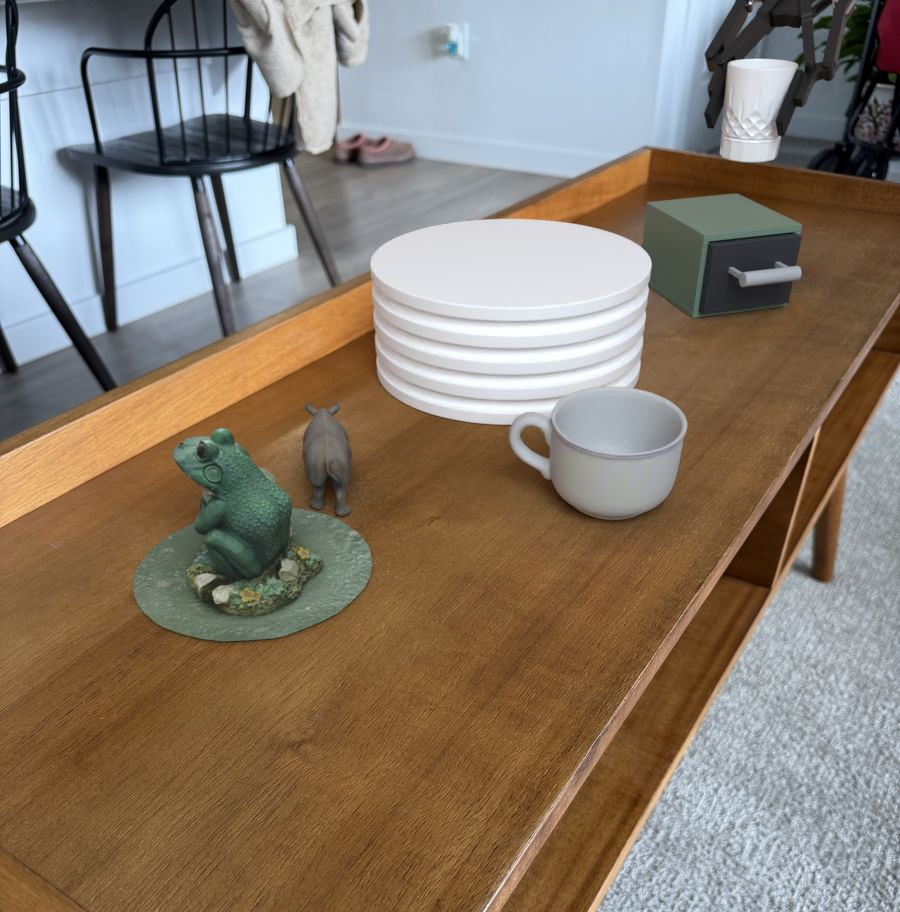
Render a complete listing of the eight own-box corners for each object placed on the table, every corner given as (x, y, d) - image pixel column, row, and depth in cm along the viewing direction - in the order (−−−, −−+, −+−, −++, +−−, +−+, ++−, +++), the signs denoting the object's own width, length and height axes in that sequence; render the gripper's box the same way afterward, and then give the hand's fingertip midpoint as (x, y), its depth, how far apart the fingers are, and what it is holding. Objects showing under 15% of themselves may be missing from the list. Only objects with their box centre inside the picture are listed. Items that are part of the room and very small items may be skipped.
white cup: (788, 164, 114) (806, 68, 108) (721, 164, 114) (735, 69, 108) (772, 149, 120) (788, 58, 114) (709, 149, 121) (721, 58, 115)
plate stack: (434, 307, 118) (432, 209, 111) (662, 335, 110) (675, 231, 103) (331, 400, 97) (321, 287, 90) (604, 444, 89) (615, 323, 82)
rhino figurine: (347, 440, 90) (342, 380, 87) (358, 516, 79) (353, 451, 76) (303, 443, 90) (296, 383, 86) (308, 521, 79) (301, 456, 75)
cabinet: (786, 306, 117) (802, 224, 111) (692, 318, 114) (704, 235, 108) (725, 269, 128) (737, 193, 122) (638, 279, 125) (646, 202, 119)
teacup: (683, 480, 83) (696, 395, 79) (663, 547, 75) (677, 455, 70) (528, 457, 87) (531, 374, 82) (493, 518, 79) (494, 429, 74)
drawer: (809, 315, 112) (824, 246, 107) (721, 326, 109) (733, 257, 104) (731, 268, 125) (741, 205, 121) (651, 277, 123) (658, 214, 118)
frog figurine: (221, 491, 83) (198, 364, 76) (410, 534, 77) (404, 401, 70) (82, 607, 70) (39, 467, 63) (297, 670, 64) (275, 522, 57)
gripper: (725, -77, 115) (654, 95, 114) (907, -76, 106) (831, 111, 105) (734, -27, 122) (667, 136, 121) (906, -22, 112) (834, 154, 111)
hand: (743, 124), depth 113 cm, fingers closed on white cup, 8 cm apart
